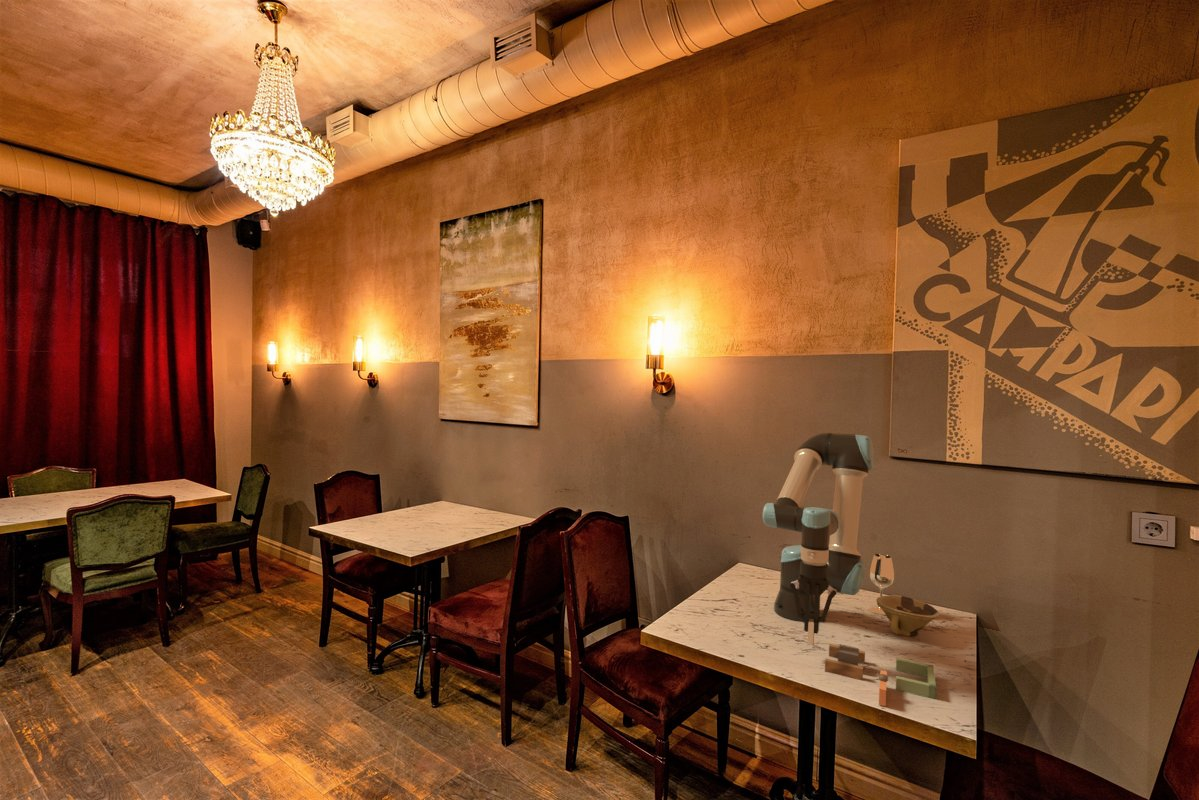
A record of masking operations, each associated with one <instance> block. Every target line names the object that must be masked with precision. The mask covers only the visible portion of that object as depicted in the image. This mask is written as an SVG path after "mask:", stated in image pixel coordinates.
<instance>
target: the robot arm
mask: <svg viewBox="0 0 1199 800" xmlns="http://www.w3.org/2000/svg"><path fill="white" fill-rule="evenodd" d="M793 460H794V462H793V465H792V467H791V468H790V470H789V473H788V475H787V477H786V480H785V482H784V484H783V486H782V488H781V490H780V492H779V494H778V497H777V498H776V501H775V502H767V503H765V504H764V505H763V508H762V515H761V516H762V522H763V524H764V525H765V526H766V527H770V528H774V529H778V530H787V531H792V532H799V533H801V544H799V545H790V546H789V545H788V546H786V547H784V548H783V549H782V550H781V559H780V574H779V575H780V579H779V580H780V581H779V582H780V584H779V590H778V593H777V595H776V598H775V601H774V604H773V611H774V613H775V614H777V615H778V616H780V617H782V618H785V619H789V620H791V621H798V622H804V623H803V624H804V625H803V627H804V628H803V630H804V632H807V645H809V646H812V647H813V646H814V644H815V635H817V634H818V633H819V630H820V629H819V628H820V623H824V622H826V619H827V616H828V614H829V610H830V606H831V604H832V602H833V601H832V600H833V599H834V597H835V596H836V595H837V593H838V594H841V595H847V596H848V595H849V596H855V595H857V594H859V592H860V590H861V589H862V585H863V581H864V579H865V572H866V562H865V561H864V560H863V559H862V558H861V557H862V555H861V553H860V552H859V551H858V550H857V549H858V548H857V546H858V535H859V525H860V515H861V513H860V512H861V505H862V504H861V503H862V494H863V482H864V478H867V477H868V475H869V471H872V470H874V469H875V465H876V463H875V462H876V461H875V448H874V444H873V440H872V438H871V437H869V436H868V435H863V434H862V435H861V434H856V433H855V434H853V433H835V432H834V433H833V432H821V433H818V434H815V435H812V436H811V437H809V438H807V439H806V440H804V442H802V443H801V444H800V445H799V446H798V448H797V449H796V451H795V454H794V455H793ZM822 466H830V467H832V468H831V471H832V472H833V474H834V475H835V485H834V491H833V492H834V494H833V504H832V509H829V508H822V507H816V506H815V507H814V506H811V507H802V504H803V502H804V499H805V496H806V494H807V492H808V490H809V488H810V485H811V483H812V480H813V478H814V476H815V474H816V472H817V471H818V470H820V468H821V467H822ZM861 559H862V560H861ZM825 591H827V594H828V596H827V598H826V602H825V605H824V608H823V610H822V614H820V613H821V610H820V607H821V595H823V593H825Z"/></svg>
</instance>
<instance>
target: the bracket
mask: <svg viewBox="0 0 1199 800" xmlns="http://www.w3.org/2000/svg"><path fill="white" fill-rule="evenodd" d="M934 669H935V668H934V665H932V664H927V663H924V662H919V661H915V660H914V661H913V660H910V659H904V658H900V657H896V660H895V671H898V672H902V673H906V674H912V675H915V676H919V677H924V678H926V681H925V682H924V681H921V680H917V679H913V678H912V679H911V678H908V677H903V676H898V675H896V677H895V678H896V679H895V691H896V690H897V691H901V692H905V693H909V694H912V695H917V696H922V697H925V698H929V699H933V700H937V685H936V683H937V682H936V676H935V675H936V674H935V670H934Z"/></svg>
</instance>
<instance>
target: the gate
mask: <svg viewBox="0 0 1199 800" xmlns="http://www.w3.org/2000/svg"><path fill="white" fill-rule="evenodd" d="M878 680H879V693H878V695H879V696H878V705H879V706H883V707H886V705H887V704H886V703H887V682H888V680H889V678H888V671H886V670H882V669H880V673H879V674H878Z"/></svg>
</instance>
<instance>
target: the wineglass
mask: <svg viewBox="0 0 1199 800" xmlns="http://www.w3.org/2000/svg"><path fill="white" fill-rule="evenodd" d="M869 569H870V570H869V578H870V580H871V582H872V584H873V585H875V586H876V587H878V588H879V597H881V596H883V592H884V589H885V588H889V587H890V586H891V585H893V583H894V581H895V571H894V570H895V569H894V565H893V560H892V556H891V555H889V554H885V553H874V554H873V557H872V560H871V565H870V567H869ZM868 610H869V612H871V613H873V614H876V615H880V616H886V614H885V613H884V611H883V610H882V609H881V608H880V607H879V606H870V607H868Z"/></svg>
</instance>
